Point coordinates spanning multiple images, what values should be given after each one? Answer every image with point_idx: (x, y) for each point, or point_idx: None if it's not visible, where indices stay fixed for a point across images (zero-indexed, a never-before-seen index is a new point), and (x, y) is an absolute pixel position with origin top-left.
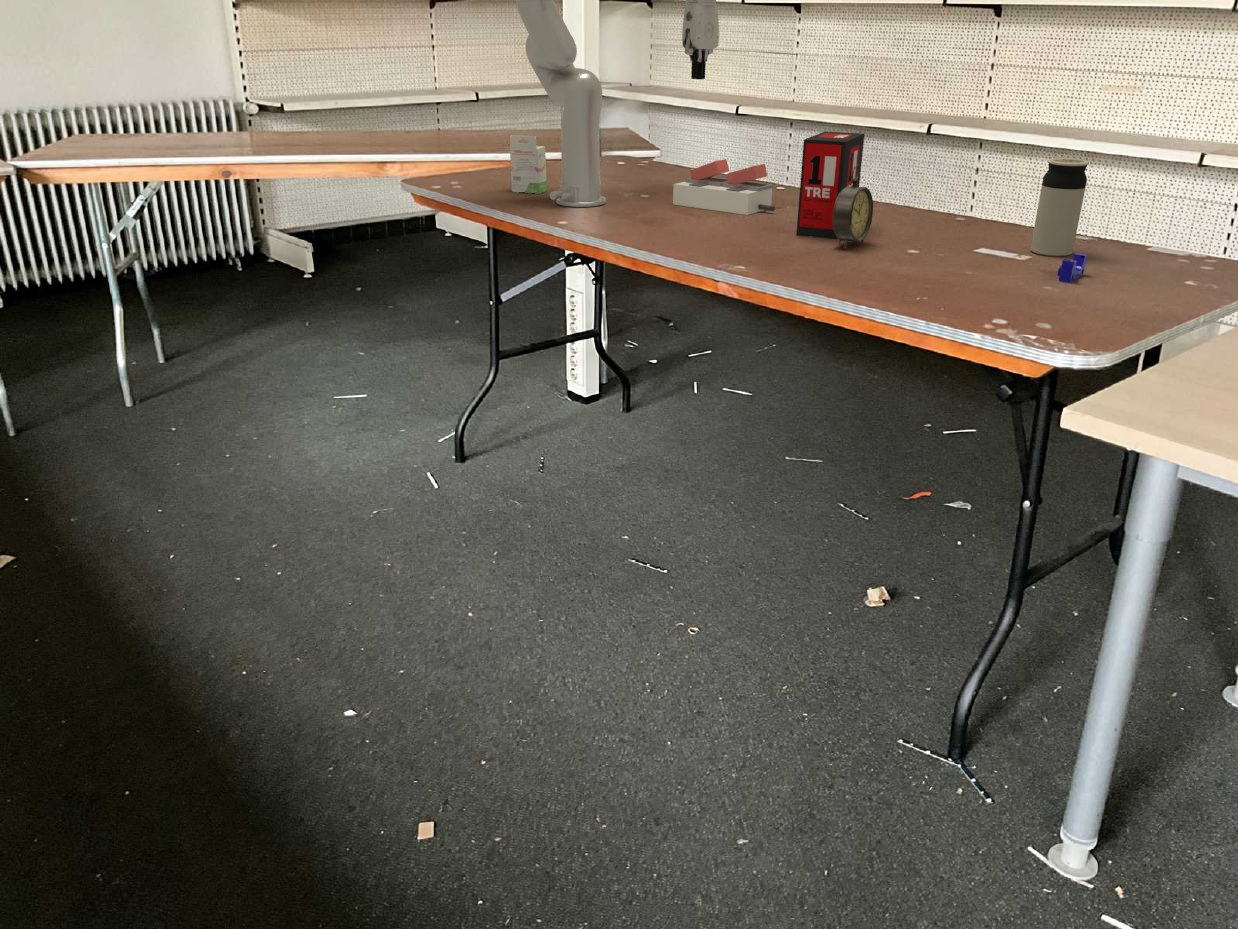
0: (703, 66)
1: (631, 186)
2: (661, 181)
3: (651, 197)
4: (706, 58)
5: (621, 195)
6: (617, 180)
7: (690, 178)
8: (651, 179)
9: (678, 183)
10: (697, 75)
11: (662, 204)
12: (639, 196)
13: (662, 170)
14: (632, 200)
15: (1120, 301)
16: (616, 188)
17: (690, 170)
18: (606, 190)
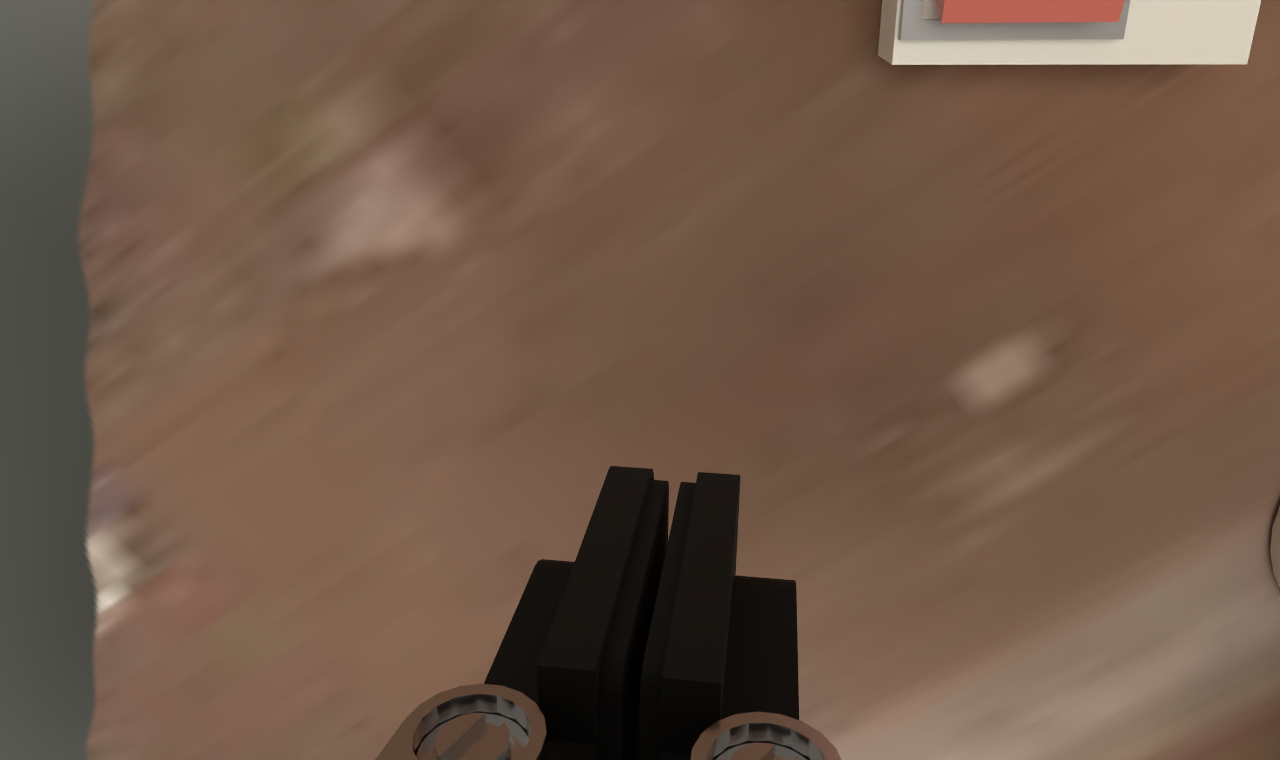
0: (635, 612)
1: None
2: (506, 561)
3: (1016, 317)
4: (418, 756)
5: (1053, 489)
6: None
7: (1072, 27)
8: (492, 632)
9: (1199, 49)
10: (760, 578)
11: (1222, 112)
12: (1025, 392)
13: (232, 724)
14: (1181, 348)
15: None
16: (861, 626)
17: (1119, 15)
18: (951, 633)
